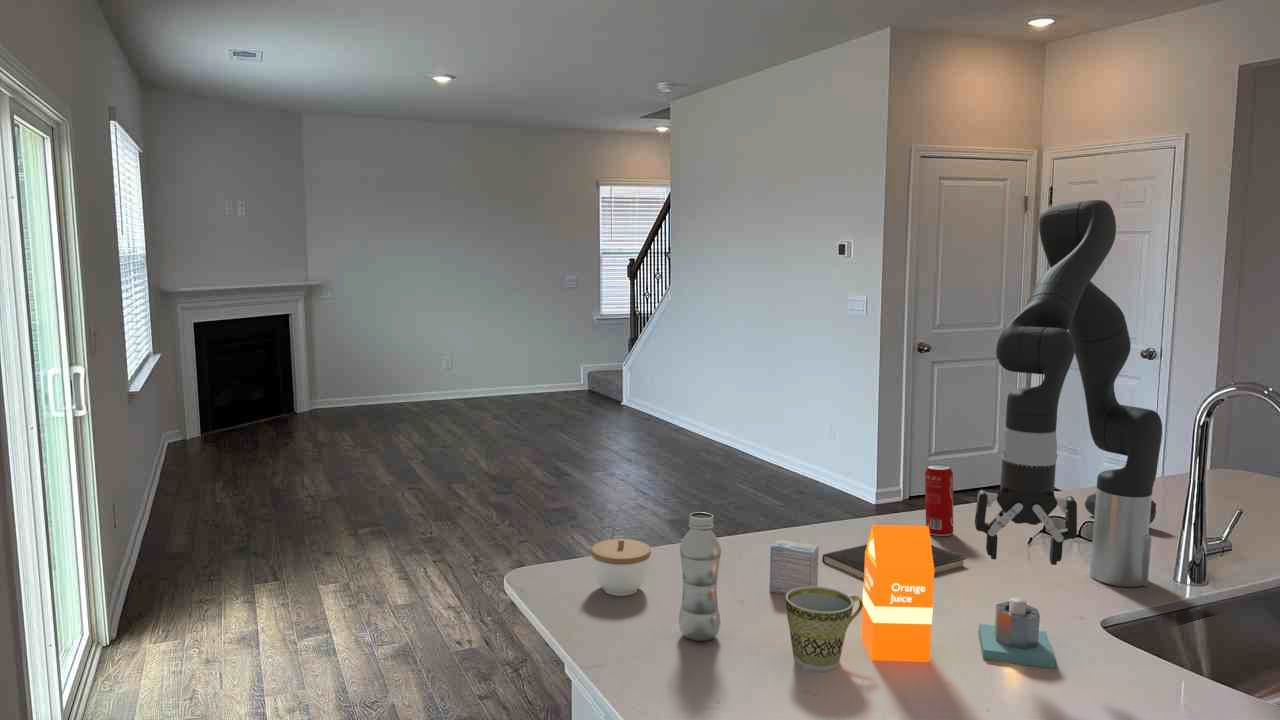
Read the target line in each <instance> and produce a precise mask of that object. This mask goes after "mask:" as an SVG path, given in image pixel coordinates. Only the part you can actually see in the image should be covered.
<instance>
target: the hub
mask: <svg viewBox="0 0 1280 720" xmlns="http://www.w3.org/2000/svg"><path fill="white" fill-rule="evenodd" d="M1009 604H1010V601H1005V602H1001V603H997V604H996V605H995V606H996V607H995V608H996V609H995V623H994V626H995V634H994V635H995V639H996V641H997V642H999V643H1001V644H1003V645H1005V646H1007V647H1010V648H1017V649H1025V650H1028V649H1031V648H1034V647H1038V635H1039V631H1040V620H1041V619H1040V618H1041V615H1040V611H1039V609H1038V608H1036V607H1033V606H1031V605H1028V603H1026V615H1019V614H1013V613H1011V612H1009Z"/></svg>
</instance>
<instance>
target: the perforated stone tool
mask: <svg viewBox="0 0 1280 720" xmlns="http://www.w3.org/2000/svg"><path fill="white" fill-rule="evenodd" d="M1095 502H1096V492H1094V493H1093V494H1090V495H1088V496H1087V498H1086V500H1085V502H1084V507H1085V509H1086V511H1087V512H1088V513H1090V515H1093V516H1094V515H1095ZM1156 509H1157V503H1155V501H1154V500H1152V499H1151V511H1150V522H1149V525H1150V524H1152V522H1153V521H1154V520H1155V518H1156V513H1157V511H1156Z"/></svg>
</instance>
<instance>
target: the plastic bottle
mask: <svg viewBox="0 0 1280 720" xmlns="http://www.w3.org/2000/svg"><path fill="white" fill-rule="evenodd" d="M688 527H689V531H688V532H687V533H685V535H684V537H683V538H682V540H681V542H680V545H679V553H680V554H679V556H680V561H681V571H682V572H681V573H682V580H683V581H682V595H681V596H682V597H681V605H680V606H681V607H680V609H679V614H678V625H679V630H680V633H681V634H682V635H683V637H685V638H687V639H689V640H692V641H698V642H699V641H700V642H701V641H710V640H713V639H714V638H716V636H717V635H718V634H719V632H720V627H721V617H720V612H719V605H718V592H717V590H718V575H719V567H720V561H721V555H722V546H721V543H720V541H719V540H718V539H719V538H717V536H716V534H715V532H713V531H712V529H714V527H715V526H714V515H713V514H711V513H708V512H704V511H703V512H701V511H697V512H692V513H690V514H689V522H688Z"/></svg>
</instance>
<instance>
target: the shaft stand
mask: <svg viewBox="0 0 1280 720" xmlns="http://www.w3.org/2000/svg"><path fill="white" fill-rule="evenodd" d="M1009 602H1010V604H1009V612H1011V613H1013V614H1019V615H1026V604H1028V603H1027V600H1026V599H1023V598H1021V597H1011V598H1009ZM994 634H995V624H986V623H978V638H979V644H980V649H981V655H982V659H983V660H987V661H993V662H994V661H995V662H1001V663H1008V664H1009V663H1011V664H1017V665H1025V666H1031V667H1038V668H1039V667H1040V668H1047V669H1056V668H1055V667H1056V666H1055V665H1056V657H1055V655H1054V652H1053V648H1052V645H1051V643H1050V640H1049V637H1048V634H1047V632H1046V631H1042V630H1039V635H1038V647H1034V648H1031V649H1028V650H1025V649H1017V648H1010V647H1007V646H1005V645H1003V644H1001V643H999V642H997V641H996V639H995V635H994Z"/></svg>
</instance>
